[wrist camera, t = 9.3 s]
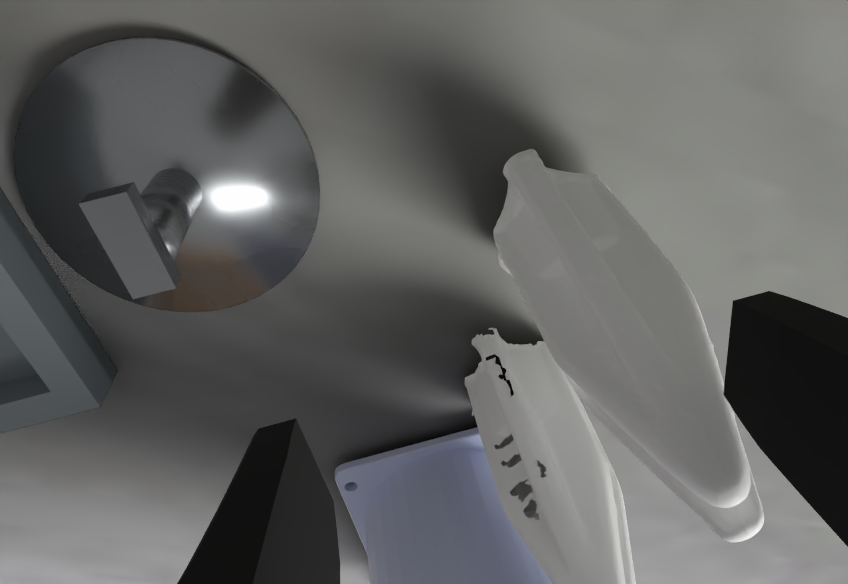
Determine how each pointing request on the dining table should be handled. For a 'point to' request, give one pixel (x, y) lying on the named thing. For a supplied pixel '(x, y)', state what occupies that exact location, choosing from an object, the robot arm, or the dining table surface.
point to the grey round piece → (167, 174)
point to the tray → (42, 337)
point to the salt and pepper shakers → (600, 381)
